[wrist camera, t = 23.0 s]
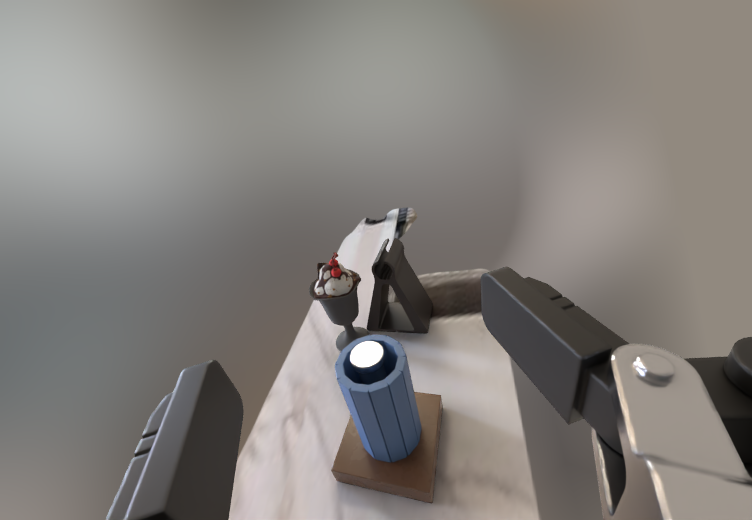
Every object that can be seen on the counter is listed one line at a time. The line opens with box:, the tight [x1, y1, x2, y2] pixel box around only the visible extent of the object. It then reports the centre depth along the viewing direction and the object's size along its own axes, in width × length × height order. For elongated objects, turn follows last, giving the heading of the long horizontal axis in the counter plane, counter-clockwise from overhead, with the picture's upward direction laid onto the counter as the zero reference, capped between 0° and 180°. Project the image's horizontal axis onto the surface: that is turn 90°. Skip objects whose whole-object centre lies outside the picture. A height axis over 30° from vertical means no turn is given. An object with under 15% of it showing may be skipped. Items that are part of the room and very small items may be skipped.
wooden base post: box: [331, 341, 443, 503], centre depth 28 cm, size 9×9×13 cm
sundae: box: [309, 253, 369, 351], centre depth 41 cm, size 7×7×15 cm
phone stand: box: [367, 238, 433, 333], centre depth 44 cm, size 9×6×12 cm, turn 74°
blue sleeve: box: [335, 335, 421, 463], centre depth 28 cm, size 6×6×10 cm
